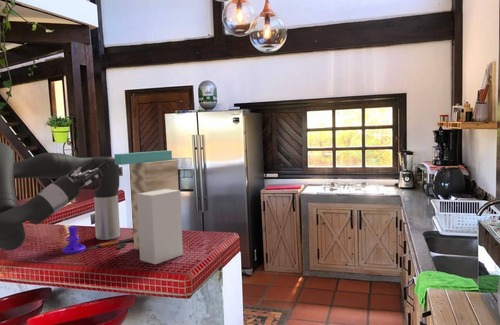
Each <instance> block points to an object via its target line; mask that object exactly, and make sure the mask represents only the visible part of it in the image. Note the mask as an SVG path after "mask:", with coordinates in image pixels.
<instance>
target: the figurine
mask: <svg viewBox="0 0 500 325" xmlns="http://www.w3.org/2000/svg"><path fill="white" fill-rule="evenodd" d="M65 230H66V232H68V234H69V236H68V237H66V239H65V242H68V243H67V244H66V246H65V247H63V249H62V251H61V252H62V254H65V255H74V253H75V254H80V253H84V252H85V251H84V250H85V249H87V248H86V245H84V244H81V242H80V241H81V238H79V236H78V233H79V232H81V231H80V230H79V229H78V227H77V226H76V225H70V226H69V227H68V228H67V229H65ZM78 241H79V242H78Z"/></svg>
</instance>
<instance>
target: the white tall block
mask: <svg viewBox="0 0 500 325" xmlns="http://www.w3.org/2000/svg"><path fill="white" fill-rule="evenodd" d="M181 197H182V196H181V190H180V189H179V190H171V189H161V190H155V191H150V192H144V193H138V194H137V212H138V231H139V250H138V251H139V260H140V261H142V262H145V263H149V264H153V265H158V264H161V263H163V262H166V261H170V260H171V259H175V258H177V257H180V256H184V246H183V244H184V243H183V225H182V224H183V223H182V222H183V221H182V200H181Z"/></svg>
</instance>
